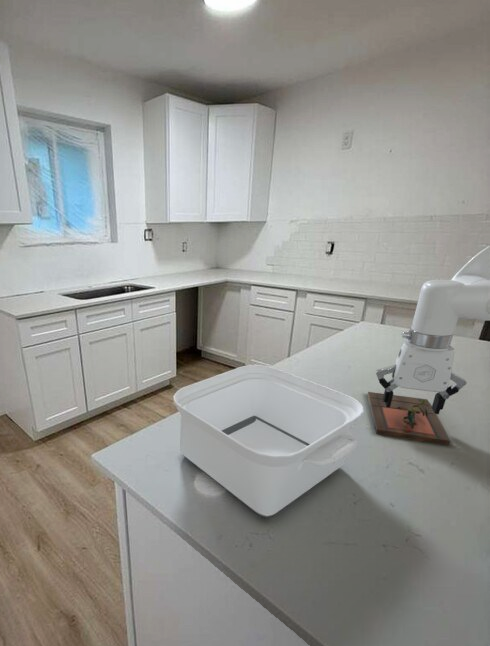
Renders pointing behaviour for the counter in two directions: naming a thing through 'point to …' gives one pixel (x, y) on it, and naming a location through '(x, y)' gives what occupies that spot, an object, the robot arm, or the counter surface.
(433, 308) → the robot arm
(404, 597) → the counter surface
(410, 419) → the dark green branching piece
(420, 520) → the counter surface
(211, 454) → the white storage bin
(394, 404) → the board
